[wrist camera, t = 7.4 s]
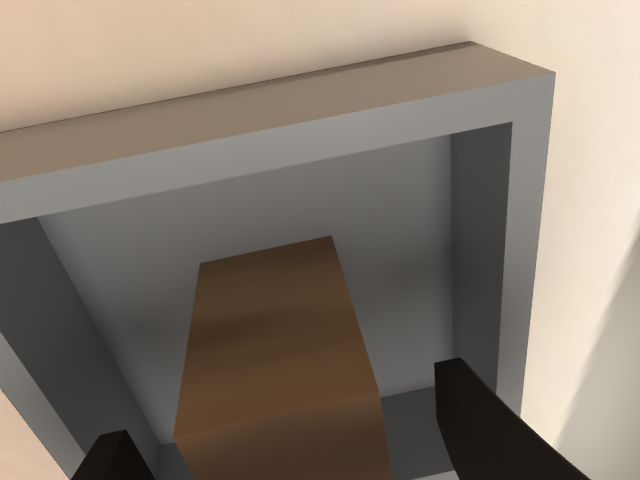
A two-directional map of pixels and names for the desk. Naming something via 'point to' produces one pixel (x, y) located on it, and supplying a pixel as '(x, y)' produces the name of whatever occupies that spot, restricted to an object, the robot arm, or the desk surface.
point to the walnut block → (279, 372)
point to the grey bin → (276, 238)
